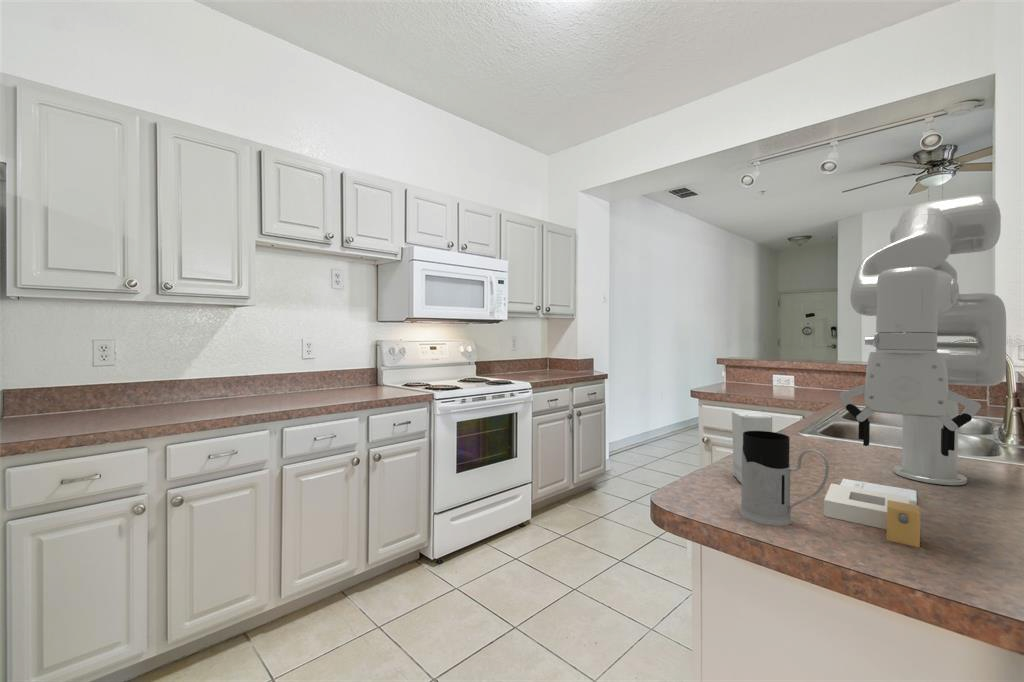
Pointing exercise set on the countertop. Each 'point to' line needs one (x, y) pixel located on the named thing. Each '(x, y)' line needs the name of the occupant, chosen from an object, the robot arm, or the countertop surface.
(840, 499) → the socket
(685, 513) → the countertop surface
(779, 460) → the glass holder
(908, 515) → the plug
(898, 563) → the countertop surface
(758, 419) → the skincare box
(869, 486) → the external hard drive
